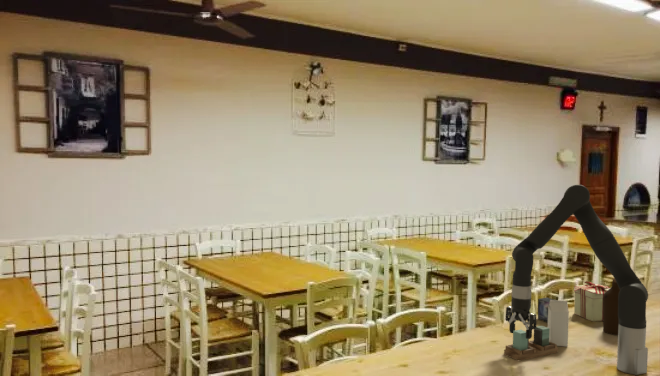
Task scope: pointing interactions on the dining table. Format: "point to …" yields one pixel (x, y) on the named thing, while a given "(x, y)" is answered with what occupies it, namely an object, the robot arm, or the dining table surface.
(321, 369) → the dining table surface
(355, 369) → the dining table surface
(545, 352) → the walnut rail
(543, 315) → the small box
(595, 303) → the gift box
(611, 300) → the olive oil
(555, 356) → the dining table surface
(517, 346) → the teal rectangular block
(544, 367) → the dining table surface
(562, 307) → the milk carton
